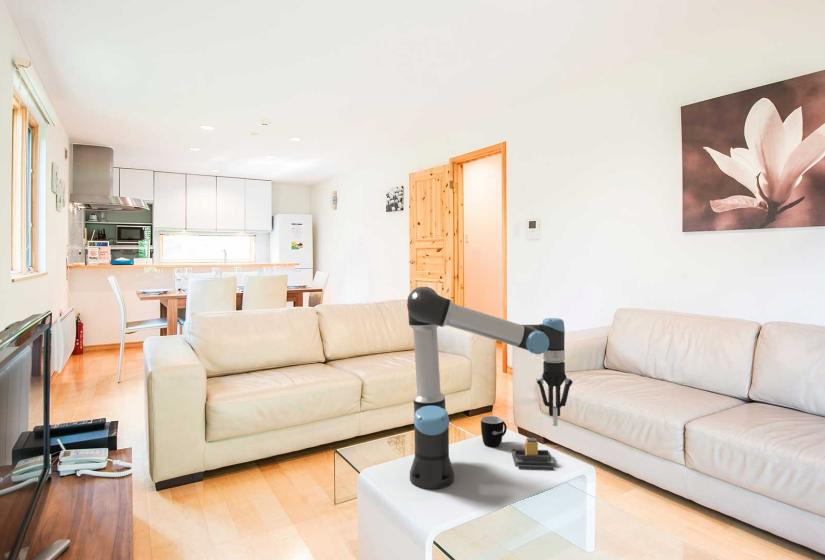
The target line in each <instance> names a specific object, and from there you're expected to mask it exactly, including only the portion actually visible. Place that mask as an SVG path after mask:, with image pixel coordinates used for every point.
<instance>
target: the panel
mask: <svg viewBox="0 0 825 560" xmlns="http://www.w3.org/2000/svg"><path fill="white" fill-rule="evenodd" d="M514 449H515V451H511V456H512V459H513V462H514V463H513V464H514V466H515V467H519V465H535V466H553V467H554V468H556V462H555V460H554V458H553V456H552V454H551V453H550V451H549V450H548V449H538V455H525V450H523V449H522V448H514Z"/></svg>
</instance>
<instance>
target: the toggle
mask: <svg viewBox="0 0 825 560" xmlns="http://www.w3.org/2000/svg"><path fill="white" fill-rule="evenodd" d="M524 441H525V444H524V445H525V446H524V447H525V448H524V449H525V455H538V450H539V442H538V441H537V439H536V437H526V439H525V440H524Z"/></svg>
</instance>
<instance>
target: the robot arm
mask: <svg viewBox="0 0 825 560" xmlns="http://www.w3.org/2000/svg"><path fill="white" fill-rule="evenodd" d="M406 301H407V302H406V306H407V307H406V308H407V313H408V314H407V315H408V326H409V327H410V328H412V329H413V344H414V345H413V346H414V347H413V348H414V359H415V361H414V363H415V377H416V392H417V393H416V394H415V395H414V397H413V416H414V418H413V423H414V427H413V428H414V458H413V461H412V463H411V464H412V465H411V467H410V470H409V481H410V482H411V483H412V484H413V485H414V486H416V487H419V488H422V489H426V490H436V489H443V488H447V487H449V486H450V485H452V484H453V483H454V481H455V472H454V471H455V470H454V468H453V465H452V461H451V458H450V451H449V450H450V441H449V440H450V433H449V431H450V427H449V425H450V418H449V412H448V411H447V409H446V397H445V395H444V394H443V393H442V392H441V379H440V376H441V375H440V362H439V341H438V327H440V328H444V327H446V326H449V327H451V328H455V329H457V330H461V331H465V332H468V333H470V334H474V335H477V336H480V337H485V338H488V339H490V340H491V339H492V340H493V341H494V340H495V341H498V342H501V343H503V344H504V343H505V344H506V345H511V346H514V347H516V348H520V349H523V350H525V351H529V352H530V353H531V354H535V355H541V354H542V355H543V356H542V357H543V360H544V361H543V367H542V368H543V369H542V370H543V372H542V375H541V377H540V378H536V380H535V382H536V383H537V384H538V387H539V391H540V394H541V398H542V401H543V405H544V406H545V407H548V415H549V417H551V424H552V426H554V427H558V417H560V416H561V407H565V406H566V404H567V401H568V396H569V392H570V388H571V386H572V385H573V383H574V382H573V380H572V379H571V378H568V377H567V375H566V364H565V359H566V358H565V339H566V338H565V333H566V329H565V322H564V320H563V319H562V318H557V317H548V318H543V320H542V323H539V324H519V323H517V322H513V321H510V320H507V319H503V318H499V317H497V316H494V315H490V314H487V313H484V312H481V311H477V310H474V309H471V308H469V307H468V308H467V307H465V306H461V305H458V304H457V303H456V304H455V303H453V301H452V299H449V298H446V297H444V296H441V295H440V294H438V292H437V291H435V289H433V288H431V287H429V286H418V287H416V288H414V289H413V290H411V291H410V293H409V295H408V297H407V300H406ZM544 382H545V383H546V384H547V391H548V400H547V395H546V391H545V387H544ZM563 384H564V387H563V391H562V395H561V386H562V385H563ZM554 387H555V389H554ZM554 390H555V405H554Z"/></svg>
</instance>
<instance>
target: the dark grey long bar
mask: <svg viewBox="0 0 825 560" xmlns="http://www.w3.org/2000/svg"><path fill="white" fill-rule="evenodd" d="M554 469H555V467H553V466H535V465H519V466H518V470H537V471H539V470H540V471H543V470H545V471H554Z"/></svg>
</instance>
